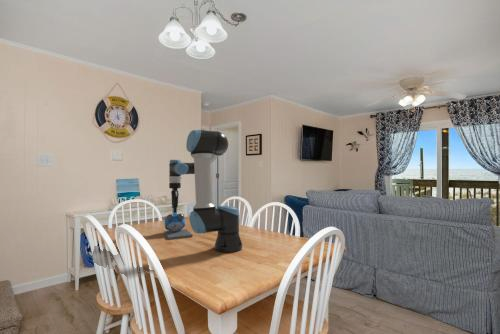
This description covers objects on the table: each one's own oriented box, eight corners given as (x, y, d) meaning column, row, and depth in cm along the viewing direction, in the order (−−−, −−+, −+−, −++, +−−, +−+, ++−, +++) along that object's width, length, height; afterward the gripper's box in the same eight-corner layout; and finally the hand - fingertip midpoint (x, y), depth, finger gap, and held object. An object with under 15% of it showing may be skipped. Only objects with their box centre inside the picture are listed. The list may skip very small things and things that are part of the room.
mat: (192, 236, 176) (192, 234, 176) (168, 239, 170) (168, 236, 170) (186, 231, 191) (186, 228, 191) (164, 234, 184) (164, 231, 184)
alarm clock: (164, 232, 187) (165, 220, 176) (164, 224, 190) (164, 212, 180) (184, 230, 191) (186, 219, 180) (183, 222, 195) (185, 211, 184)
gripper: (182, 183, 183) (182, 218, 183) (178, 181, 195) (178, 214, 195) (171, 183, 180) (170, 219, 180) (167, 181, 191) (167, 215, 192)
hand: (174, 217), depth 187 cm, fingers closed
